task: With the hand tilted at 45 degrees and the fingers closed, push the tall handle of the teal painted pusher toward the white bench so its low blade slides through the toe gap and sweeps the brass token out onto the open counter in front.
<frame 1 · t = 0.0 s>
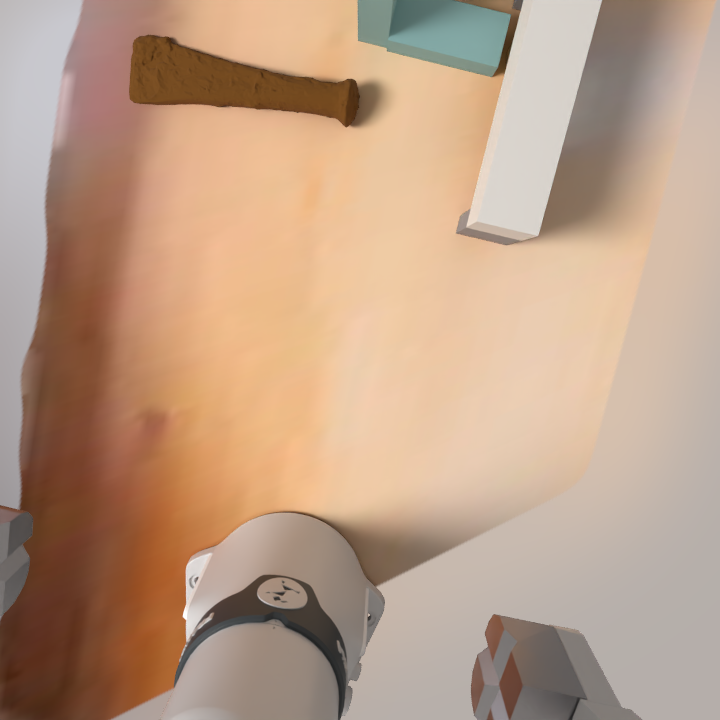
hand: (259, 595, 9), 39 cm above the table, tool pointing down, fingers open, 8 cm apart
primitive tool: (242, 95, 46), on the table
white bench: (511, 120, 45), on the table
pusher: (377, 22, 44), on the table
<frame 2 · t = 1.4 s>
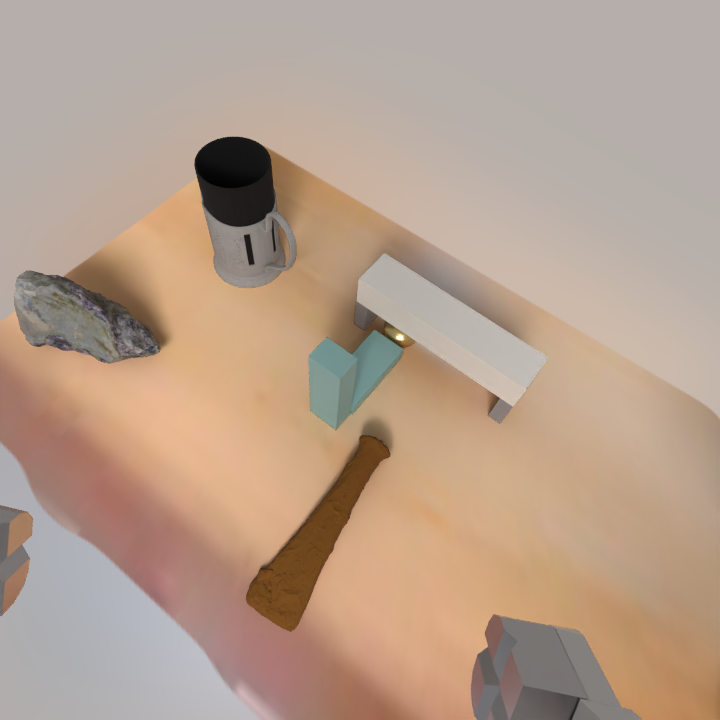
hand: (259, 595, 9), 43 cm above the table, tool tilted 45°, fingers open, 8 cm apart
primitive tool: (327, 530, 52), on the table
white bench: (434, 357, 61), on the table
mineral rock: (97, 346, 60), on the table
glass holder: (262, 274, 66), on the table
token: (400, 333, 63), on the table
pusher: (330, 412, 57), on the table
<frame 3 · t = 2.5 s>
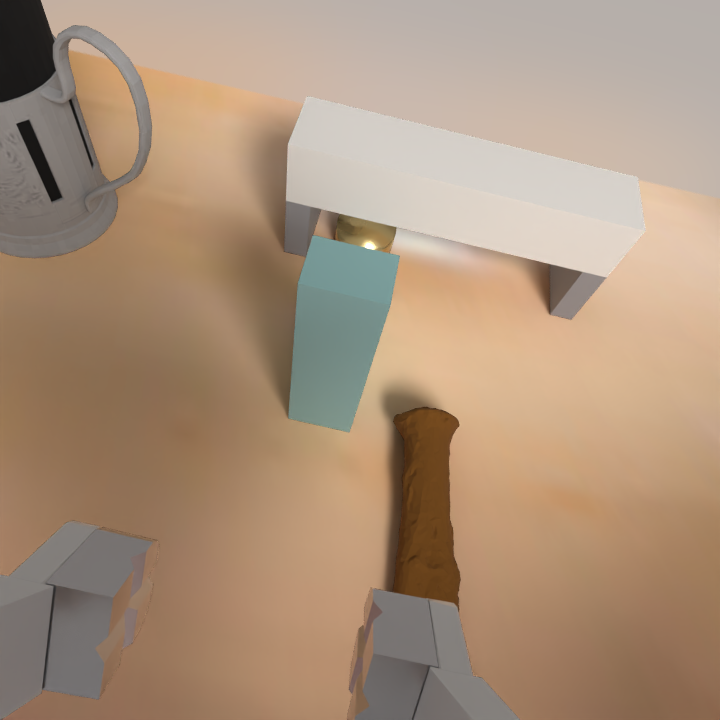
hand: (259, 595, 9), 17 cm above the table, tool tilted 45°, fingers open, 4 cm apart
primitive tool: (424, 610, 27), on the table
white bench: (432, 261, 37), on the table
glass holder: (83, 224, 35), on the table
token: (362, 244, 38), on the table
pusher: (323, 405, 31), on the table
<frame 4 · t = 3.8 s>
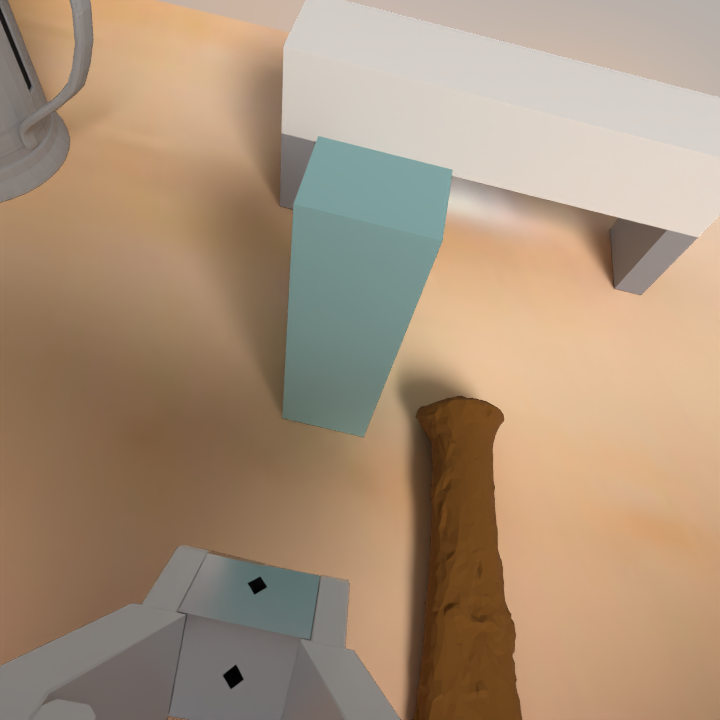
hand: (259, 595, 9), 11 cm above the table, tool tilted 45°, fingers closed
primitive tool: (464, 674, 19), on the table
white bench: (465, 221, 30), on the table
glass holder: (24, 168, 28), on the table
pusher: (329, 401, 23), on the table
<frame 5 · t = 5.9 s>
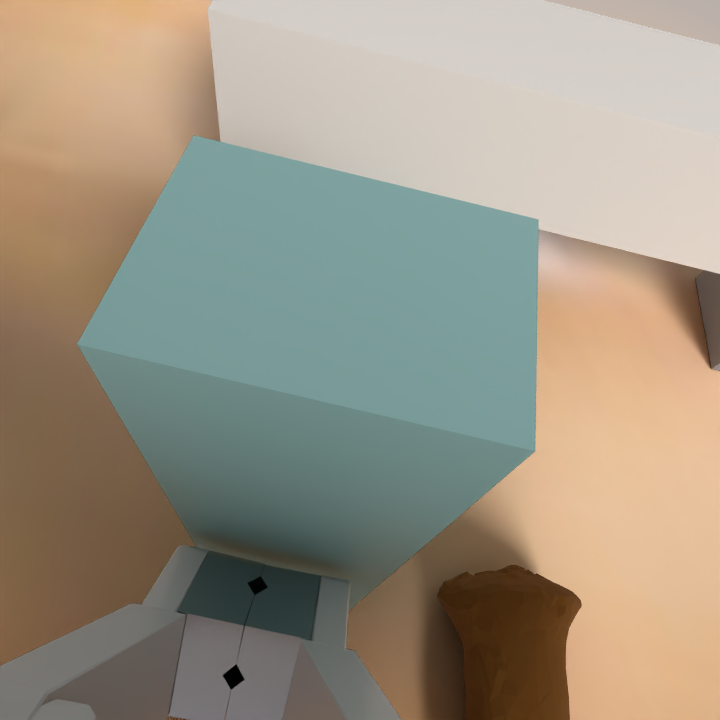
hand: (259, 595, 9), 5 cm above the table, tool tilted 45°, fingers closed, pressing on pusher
white bench: (496, 270, 21), on the table
pusher: (294, 549, 15), on the table, touching gripper
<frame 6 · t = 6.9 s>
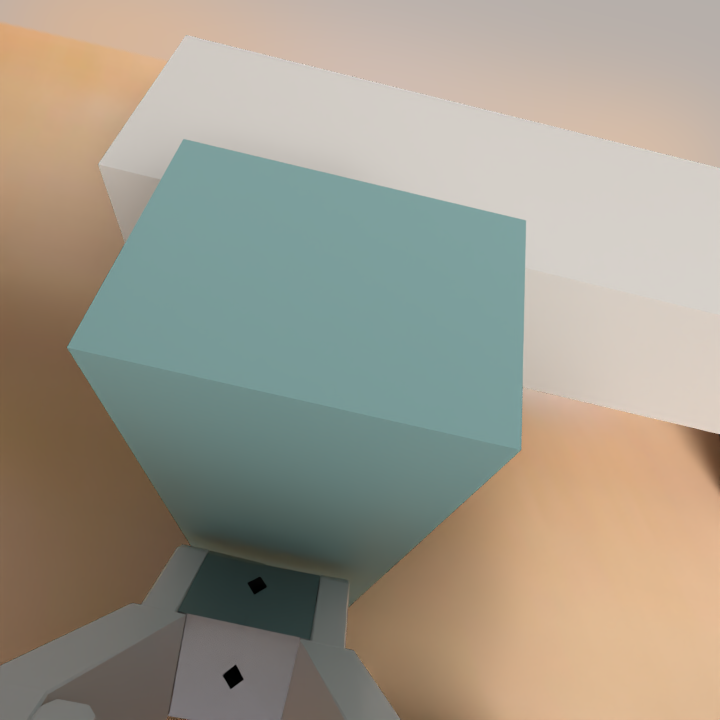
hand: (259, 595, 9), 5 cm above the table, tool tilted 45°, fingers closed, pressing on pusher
white bench: (483, 393, 18), on the table
pusher: (290, 549, 15), on the table, touching gripper, token
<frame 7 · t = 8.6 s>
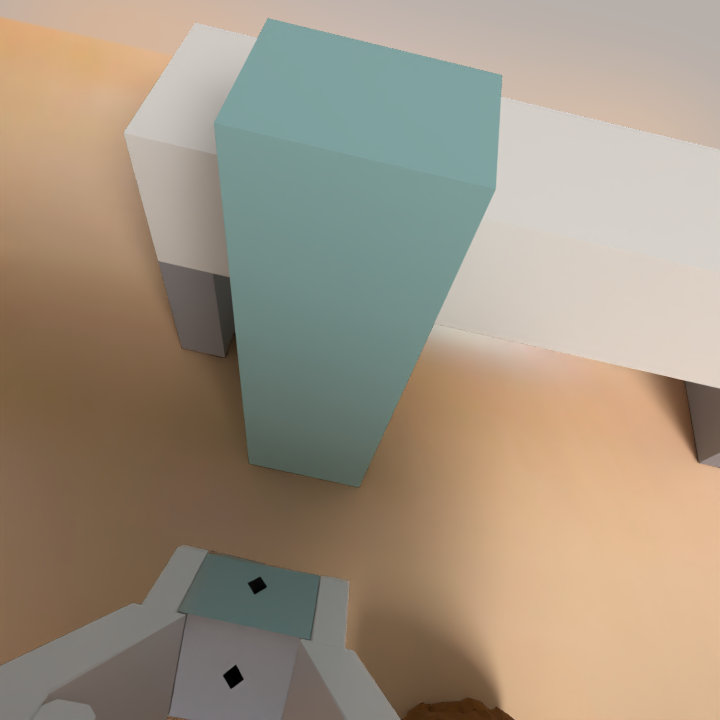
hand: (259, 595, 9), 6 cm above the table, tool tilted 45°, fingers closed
white bench: (469, 357, 20), on the table
pusher: (312, 438, 17), on the table
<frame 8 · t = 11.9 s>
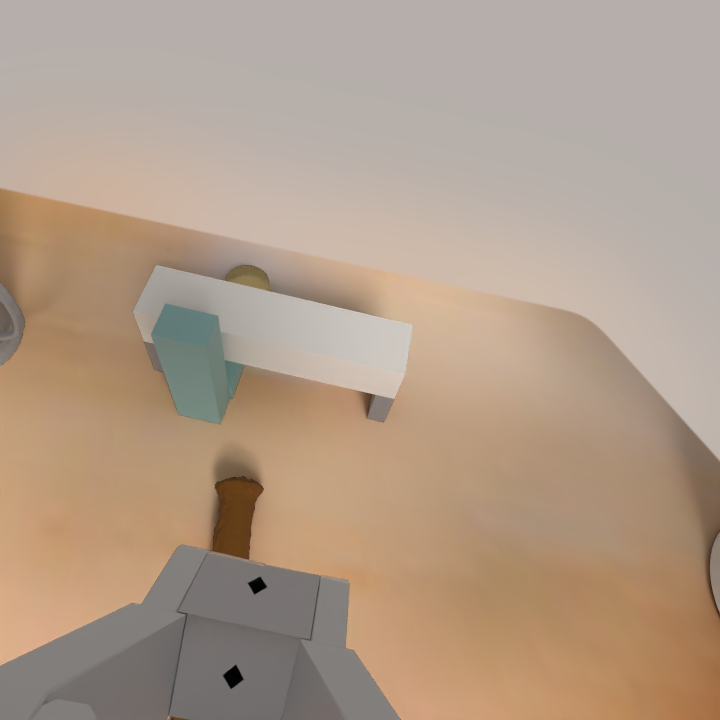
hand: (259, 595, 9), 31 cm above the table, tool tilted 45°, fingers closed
primitive tool: (227, 626, 37), on the table
white bench: (276, 373, 47), on the table
token: (247, 294, 51), on the table
pusher: (204, 406, 45), on the table
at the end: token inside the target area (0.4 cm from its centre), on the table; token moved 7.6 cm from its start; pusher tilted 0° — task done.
